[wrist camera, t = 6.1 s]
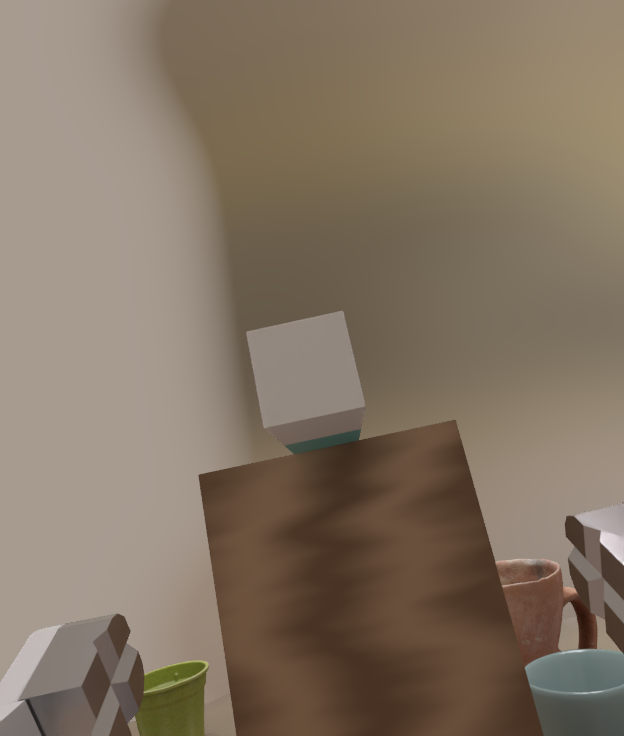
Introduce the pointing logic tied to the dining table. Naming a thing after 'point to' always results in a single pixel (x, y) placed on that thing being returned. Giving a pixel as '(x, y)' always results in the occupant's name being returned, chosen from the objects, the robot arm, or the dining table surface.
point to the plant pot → (173, 701)
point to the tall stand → (364, 594)
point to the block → (308, 382)
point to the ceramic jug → (542, 607)
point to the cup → (579, 692)
